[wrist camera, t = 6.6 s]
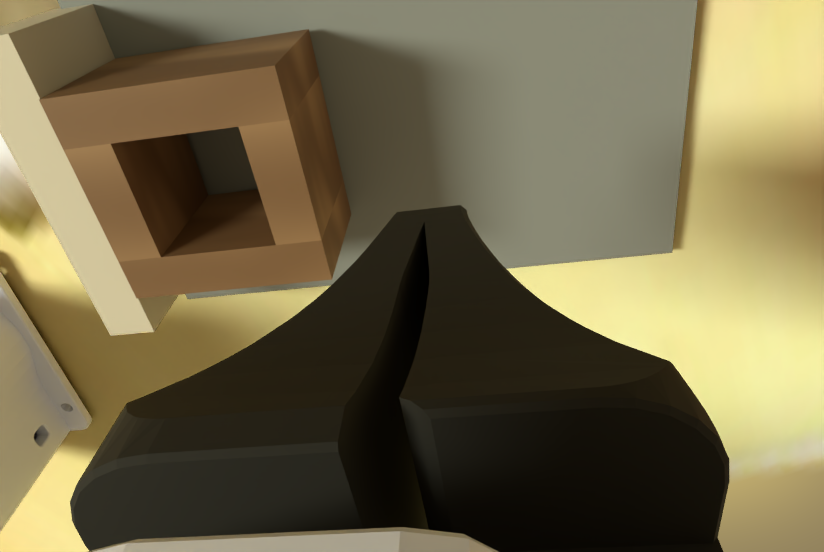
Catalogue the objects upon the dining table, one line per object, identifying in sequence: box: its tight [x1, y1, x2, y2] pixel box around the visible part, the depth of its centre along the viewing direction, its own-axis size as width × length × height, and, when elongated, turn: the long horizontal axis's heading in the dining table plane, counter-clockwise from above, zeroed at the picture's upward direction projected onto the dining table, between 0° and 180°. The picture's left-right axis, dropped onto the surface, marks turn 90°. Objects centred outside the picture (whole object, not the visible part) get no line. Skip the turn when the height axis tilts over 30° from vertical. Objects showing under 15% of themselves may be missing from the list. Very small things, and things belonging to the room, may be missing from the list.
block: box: [39, 29, 351, 298], centre depth 18 cm, size 6×6×4 cm
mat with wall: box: [0, 0, 698, 336], centre depth 17 cm, size 12×18×4 cm, turn 99°
